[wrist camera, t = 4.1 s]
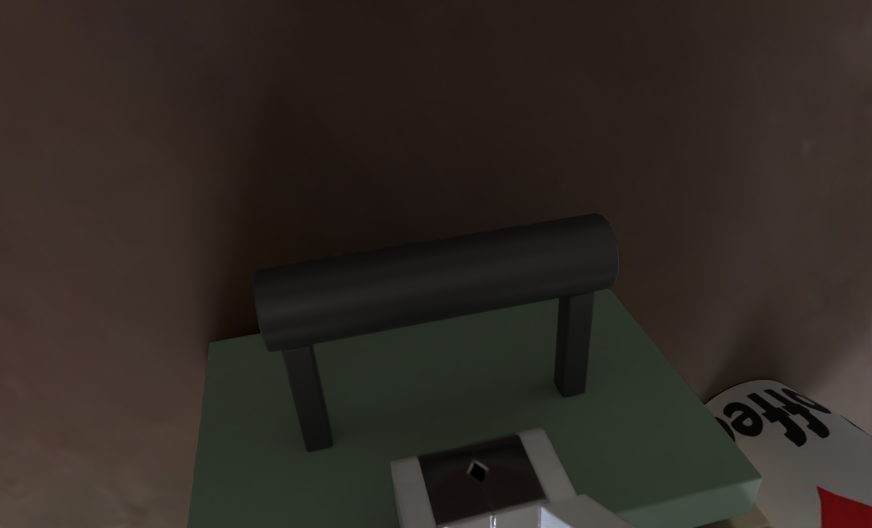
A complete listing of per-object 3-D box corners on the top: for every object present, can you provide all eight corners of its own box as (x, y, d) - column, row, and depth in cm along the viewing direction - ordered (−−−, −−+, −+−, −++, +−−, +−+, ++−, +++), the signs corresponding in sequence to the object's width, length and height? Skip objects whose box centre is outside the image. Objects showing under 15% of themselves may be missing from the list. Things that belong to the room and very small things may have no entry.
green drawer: (158, 192, 15) (75, 445, 8) (610, 127, 17) (828, 292, 10) (300, 618, 25) (312, 876, 19) (568, 550, 27) (663, 764, 21)
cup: (852, 339, 25) (1136, 567, 17) (787, 473, 30) (987, 708, 21) (672, 364, 24) (889, 631, 15) (630, 503, 28) (782, 769, 20)
